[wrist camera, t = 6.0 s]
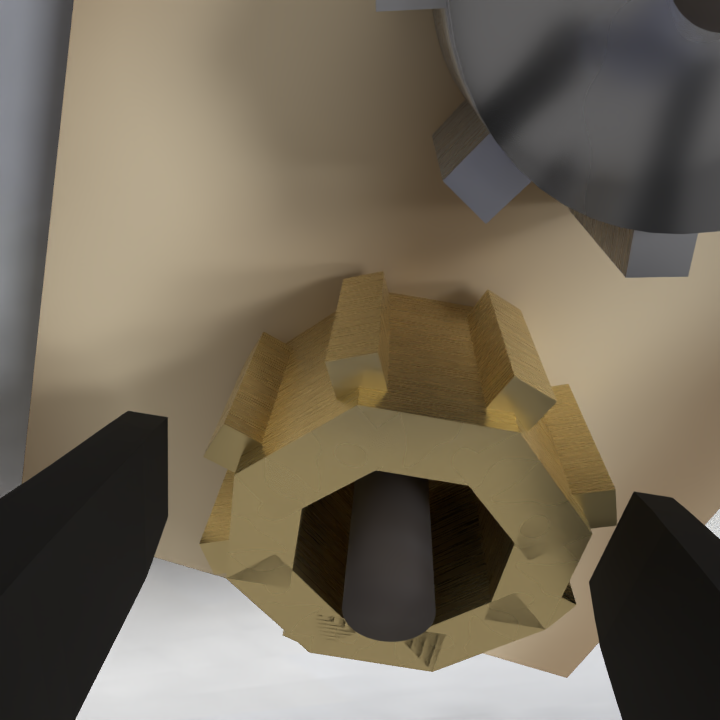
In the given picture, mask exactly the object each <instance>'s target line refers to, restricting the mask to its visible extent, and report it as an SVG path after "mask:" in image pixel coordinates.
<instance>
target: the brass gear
mask: <svg viewBox="0 0 720 720" xmlns="http://www.w3.org/2000/svg"><path fill="white" fill-rule="evenodd" d="M203 457H204V458H206V459H208V460H210V461H212V462H214V463H216V464H218V465H220V466H222V467H224V468H226V469H227V472H226V475H225V477H224V480H223V483H222V485H221V488H220V490H219V493H218V496H217V498H216V501H215V504H214V506H213V509H212V512H211V514H210V517H209V519H208V522H207V525H206V527H205V530H204V533H203V535H202V538H201V540H200V543H199V545H200V547H201V549H202V551H203V553H204V555H205V557H206V559H207V561H208V563H209V565H210V567H211V569H212V571H213V573H214V575H216V574H224V573H226V579H227V580H229V581H230V582H231V583H232V584H233V585H234V586H235V587H236V588H238V589H239V590H240V591H241V592H242V593H243V594H244V595H245V596H247V597H248V598H249V599H250V600H251V601H252V602H253V603H254V604H256V605H257V606H258V607H259V608H260V609H261V610H262V611H263V612H265V613H266V614H267V615H268V616H269V617H270V618H271V619H272V620H273V621H275V622H276V623H277V624H278V625H279V626H280V627H281V628H282V629H284V631H283V636H285V637H288V638H290V639H292V640H294V641H297V642H298V643H299V644H300V645H302V646H303V647H304V648H305V649H306V650H307V651H308V652H310V653H316V654H322V655H329V656H335V657H341V658H348V659H354V660H361V661H367V662H373V663H380V664H386V665H392V666H399V667H405V668H411V669H418V670H424V671H431V672H433V671H436V670H439V669H441V668H444V667H447V666H449V665H452V664H455V663H457V662H460V661H463V660H465V659H468V658H471V657H473V656H476V655H479V654H481V653H484V652H487V651H489V650H492V649H495V648H498V647H500V646H503V645H506V644H508V643H511V642H514V641H516V640H519V639H522V638H524V637H527V636H530V635H532V634H535V633H538V632H540V631H543V630H546V628H549V627H550V626H551V625H552V624H554V623H555V622H556V621H557V620H559V619H560V618H561V617H562V616H564V615H565V614H566V613H567V612H569V611H570V610H571V609H572V608H574V607H575V606H576V601H575V598H574V595H573V591H572V588H571V584H570V579H571V577H572V575H573V573H574V571H575V569H576V567H577V565H578V563H579V561H580V558H581V556H582V554H583V552H584V550H585V548H586V546H587V544H588V542H589V540H590V538H591V536H592V532H591V529H592V528H600V527H609V526H617V510H616V489H615V487H614V485H613V483H612V480H611V478H610V476H609V474H608V471H607V469H606V467H605V465H604V462H603V460H602V458H601V456H600V453H599V451H598V449H597V447H596V444H595V442H594V440H593V438H592V435H591V433H590V431H589V429H588V426H587V424H586V422H585V420H584V418H583V415H582V413H581V411H580V409H579V406H578V404H577V402H576V400H575V397H574V395H573V393H572V391H571V388H570V386H569V384H564V385H557V386H551V385H550V382H549V380H548V377H547V375H546V372H545V370H544V367H543V365H542V362H541V360H540V357H539V355H538V352H537V350H536V347H535V345H534V342H533V340H532V337H531V334H530V332H529V329H528V327H527V324H526V322H525V319H524V317H523V314H522V312H521V310H520V309H519V308H517V307H515V306H514V305H512V304H511V303H509V302H507V301H506V300H504V299H503V298H501V297H500V296H498V295H496V294H495V293H493V292H492V291H490V290H488V289H487V291H486V292H485V293H484V294H483V296H482V297H481V298H480V300H479V301H478V302H477V303H476V305H475V306H474V307H472V306H466V305H460V304H454V303H449V302H443V301H437V300H431V299H426V298H420V297H414V296H409V295H403V294H397V293H391V292H388V287H387V283H386V279H385V274H384V271H380V272H375V273H370V274H365V275H360V276H355V277H350V278H345V279H343V283H342V287H341V292H340V296H339V301H338V305H337V310H336V311H335V312H334V313H332V314H330V315H329V316H327V317H326V318H324V319H323V320H321V321H319V322H318V323H316V324H315V325H313V326H312V327H310V328H309V329H307V330H305V331H304V332H302V333H301V334H299V335H298V336H296V337H294V338H293V339H291V340H290V341H288V342H287V343H284V342H282V341H280V340H278V339H276V338H275V337H273V336H271V335H269V334H267V333H266V332H263V333H262V335H261V336H260V338H259V340H258V341H257V343H256V345H255V346H254V348H253V349H252V351H251V353H250V354H249V356H248V358H247V359H246V361H245V364H244V366H243V368H242V370H241V373H240V375H239V377H238V379H237V382H236V384H235V386H234V388H233V391H232V393H231V395H230V397H229V400H228V402H227V404H226V406H225V409H224V411H223V413H222V415H221V418H220V420H219V422H218V424H217V426H216V429H215V431H214V433H213V435H212V438H211V440H210V442H209V444H208V447H207V449H206V451H205V453H204V456H203ZM375 470H377V471H384V472H390V473H396V474H402V475H408V476H414V477H420V478H426V479H428V484H429V502H430V519H431V537H432V555H433V573H434V591H435V609H436V614H435V619H434V621H433V623H432V625H431V626H430V627H429V629H427V630H426V631H425V632H424V633H422V634H421V635H419V636H417V637H415V638H412V639H409V640H405V641H398V642H384V641H378V640H373V639H370V638H367V637H365V636H363V635H361V634H359V633H357V632H356V631H354V630H353V629H352V628H351V627H350V626H349V625H348V624H347V622H346V621H345V619H344V617H343V613H342V603H343V593H344V583H345V573H346V563H347V553H348V543H349V533H350V523H351V513H352V503H353V493H354V483H355V481H356V480H358V479H360V478H362V477H364V476H366V475H367V474H369V473H371V472H373V471H375Z"/></svg>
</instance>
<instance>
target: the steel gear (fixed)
mask: <svg viewBox="0 0 720 720" xmlns="http://www.w3.org/2000/svg"><path fill="white" fill-rule="evenodd" d="M420 9H432V11H433V17H434V23H435V29H436V34H437V38H438V41H439V44H440V48H441V51H442V55H443V58H444V60H445V62H446V64H447V67H448V69H449V71H450V74H451V76H452V78H453V80H454V81H455V83H456V85H457V86H458V88H459V90H460V91H461V93H462V95H463V96H464V98H465V100H464V102H463V103H462V104H461V105H460V106H459V107H458V108H457V109H456V110H455V111H454V112H453V113H452V114H451V115H450V116H449V118H448V119H447V120H446V121H445V122H444V123H443V124H442V125H441V126H440V127H439V128H438V129H437V130H436V131H435V132H434V133H433V135H432V138H433V142H434V146H435V151H436V155H437V159H438V163H439V167H440V172H441V176H442V180H443V182H444V183H445V184H446V185H447V186H448V187H449V188H450V189H451V190H452V191H453V192H454V193H455V194H456V195H457V196H458V197H459V198H460V199H461V200H462V201H463V202H464V203H465V204H466V205H467V206H468V207H469V208H470V209H471V210H472V211H473V212H474V213H475V214H476V215H477V216H478V217H479V218H480V219H481V220H482V221H483V222H484V223H485V224H487V223H488V222H489V221H490V220H491V219H492V218H493V217H494V216H495V215H496V214H497V213H498V212H499V211H500V210H501V209H503V208H504V207H505V206H506V205H507V204H508V203H509V202H510V201H511V200H512V199H513V198H514V197H515V196H516V195H517V194H518V193H520V192H521V191H522V190H523V189H524V188H525V187H526V186H527V185H528V184H529V183H530V182H531V181H532V182H533V183H534V184H535V185H536V186H538V187H539V188H540V189H541V190H543V191H544V192H546V193H547V194H549V195H550V196H552V197H553V198H555V199H556V200H558V201H559V202H560V203H562V204H563V205H565V206H567V207H569V211H570V212H571V213H572V214H573V215H574V217H575V218H576V219H577V220H578V221H579V223H580V224H581V225H582V226H583V227H584V229H585V230H586V231H587V232H588V233H589V234H590V236H591V237H592V238H593V239H594V240H595V242H596V243H597V244H598V245H599V246H600V248H601V249H602V250H603V251H604V252H605V254H606V255H607V256H608V257H609V258H610V260H611V261H612V262H613V263H614V264H615V266H616V267H617V268H618V269H619V270H620V272H621V273H622V274H623V275H624V276H625V278H644V277H688V275H689V271H690V266H691V262H692V258H693V253H694V249H695V245H696V240H697V236H698V233H705V232H717V231H720V33H716V32H711V31H707V30H704V29H701V28H699V27H698V26H696V25H694V24H692V23H691V22H690V21H689V20H687V19H686V18H685V17H684V16H683V15H682V14H681V12H680V11H679V10H678V8H677V7H676V5H675V3H674V1H673V0H376V12H380V11H400V10H420Z"/></svg>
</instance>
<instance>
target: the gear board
mask: <svg viewBox="0 0 720 720" xmlns="http://www.w3.org/2000/svg"><path fill="white" fill-rule="evenodd" d="M673 1H674V3H675V5H676V7H677V8H678V10H679V11H680V12H681V14H682V15H683V16H684V17H685V18H686V19H687V20H689V21H690V22H691V23H692V24H694V25H696V26H698V27H699V28H701V29H704V30H707V31H711V32H716V33H720V0H673ZM464 100H465V98H464V96H463V95H462V93H461V91H460V90H459V88H458V86H457V85H456V83H455V81H454V80H453V78H452V76H451V74H450V71H449V69H448V67H447V64H446V62H445V60H444V58H443V55H442V51H441V48H440V44H439V41H438V38H437V34H436V29H435V23H434V17H433V11H432V9H420V10H400V11H380V12H376V0H74V4H73V13H72V22H71V32H70V41H69V50H68V59H67V69H66V78H65V87H64V96H63V106H62V115H61V124H60V134H59V143H58V152H57V161H56V171H55V180H54V189H53V198H52V208H51V217H50V226H49V235H48V245H47V254H46V263H45V272H44V282H43V291H42V300H41V310H40V319H39V328H38V337H37V347H36V356H35V365H34V374H33V384H32V393H31V402H30V411H29V421H28V430H27V439H26V449H25V458H24V467H23V476H22V484H23V483H24V482H26V481H27V480H29V479H30V478H32V477H33V476H35V475H36V474H37V473H39V472H40V471H42V470H43V469H45V468H46V467H48V466H49V465H51V464H52V463H54V462H55V461H57V460H58V459H59V458H61V457H62V456H64V455H65V454H66V453H68V452H69V451H71V450H72V449H74V448H75V447H76V446H78V445H79V444H81V443H82V442H84V441H85V440H86V439H88V438H89V437H91V436H92V435H93V434H95V433H96V432H98V431H99V430H100V429H102V428H103V427H105V426H106V425H108V424H109V423H111V422H112V421H113V420H115V419H116V418H118V417H119V416H121V415H122V414H124V413H125V412H127V411H133V412H139V413H145V414H151V415H158V416H164V417H168V519H167V522H166V524H165V527H164V530H163V533H162V536H161V539H160V541H159V544H158V547H157V550H156V553H155V555H154V557H156V558H159V559H163V560H166V561H169V562H173V563H176V564H180V565H183V566H186V567H190V568H193V569H197V570H200V571H204V572H207V573H210V574H214V573H213V571H212V569H211V567H210V565H209V563H208V561H207V559H206V557H205V555H204V553H203V551H202V549H201V547H200V545H199V543H200V540H201V538H202V535H203V533H204V530H205V527H206V525H207V522H208V519H209V517H210V514H211V512H212V509H213V506H214V504H215V501H216V498H217V496H218V493H219V490H220V488H221V485H222V483H223V480H224V477H225V475H226V472H227V469H226V468H224V467H222V466H220V465H218V464H216V463H214V462H212V461H210V460H208V459H206V458H204V457H203V456H204V453H205V451H206V449H207V447H208V444H209V442H210V440H211V438H212V435H213V433H214V431H215V429H216V426H217V424H218V422H219V420H220V418H221V415H222V413H223V411H224V409H225V406H226V404H227V402H228V400H229V397H230V395H231V393H232V391H233V388H234V386H235V384H236V382H237V379H238V377H239V375H240V373H241V370H242V368H243V366H244V364H245V361H246V359H247V358H248V356H249V354H250V353H251V351H252V349H253V348H254V346H255V345H256V343H257V341H258V340H259V338H260V336H261V335H262V333H263V332H266V333H267V334H269V335H271V336H273V337H275V338H276V339H278V340H280V341H282V342H284V343H287V342H288V341H290V340H291V339H293V338H294V337H296V336H298V335H299V334H301V333H302V332H304V331H305V330H307V329H309V328H310V327H312V326H313V325H315V324H316V323H318V322H319V321H321V320H323V319H324V318H326V317H327V316H329V315H330V314H332V313H334V312H335V311H336V310H337V305H338V301H339V296H340V292H341V287H342V283H343V279H345V278H350V277H355V276H360V275H365V274H370V273H375V272H380V271H384V274H385V279H386V283H387V287H388V292H391V293H397V294H403V295H409V296H414V297H420V298H426V299H431V300H437V301H443V302H449V303H454V304H460V305H466V306H472V307H474V306H475V305H476V303H477V302H478V301H479V300H480V298H481V297H482V296H483V294H484V293H485V292H486V291H487V289H488V290H490V291H492V292H493V293H495V294H496V295H498V296H500V297H501V298H503V299H504V300H506V301H507V302H509V303H511V304H512V305H514V306H515V307H517V308H519V309H520V310H521V312H522V314H523V317H524V319H525V322H526V324H527V327H528V329H529V332H530V334H531V337H532V340H533V342H534V345H535V347H536V350H537V352H538V355H539V357H540V360H541V362H542V365H543V367H544V370H545V372H546V375H547V377H548V380H549V382H550V385H551V386H557V385H564V384H569V386H570V388H571V391H572V393H573V395H574V397H575V400H576V402H577V404H578V406H579V409H580V411H581V413H582V415H583V418H584V420H585V422H586V424H587V426H588V429H589V431H590V433H591V435H592V438H593V440H594V442H595V444H596V447H597V449H598V451H599V453H600V456H601V458H602V460H603V462H604V465H605V467H606V469H607V471H608V474H609V476H610V478H611V480H612V483H613V485H614V487H615V489H616V510H617V524H618V522H619V520H620V518H621V516H622V514H623V512H624V510H625V508H626V506H627V504H628V502H629V500H630V498H631V496H632V494H633V492H634V491H635V492H641V493H647V494H654V495H660V496H666V497H672V498H674V499H675V500H676V501H677V502H679V503H680V504H681V505H682V506H683V507H685V508H686V509H687V510H688V511H689V512H690V513H692V514H693V515H694V516H695V517H696V518H697V519H698V520H699V521H700V522H702V523H703V524H704V525H705V524H706V523H707V522H708V521H709V520H710V518H711V517H712V516H713V515H714V514H715V513H716V512H717V511H718V510H719V509H720V231H717V232H705V233H698V236H697V240H696V245H695V249H694V253H693V258H692V262H691V266H690V271H689V275H688V277H644V278H625V276H624V275H623V274H622V273H621V272H620V270H619V269H618V268H617V267H616V266H615V264H614V263H613V262H612V261H611V260H610V258H609V257H608V256H607V255H606V254H605V252H604V251H603V250H602V249H601V248H600V246H599V245H598V244H597V243H596V242H595V240H594V239H593V238H592V237H591V236H590V234H589V233H588V232H587V231H586V230H585V229H584V227H583V226H582V225H581V224H580V223H579V221H578V220H577V219H576V218H575V217H574V215H573V214H572V213H571V212H570V211H569V207H567V206H565V205H563V204H562V203H560V202H559V201H558V200H556V199H555V198H553V197H552V196H550V195H549V194H547V193H546V192H544V191H543V190H541V189H540V188H539V187H538V186H536V185H535V184H534V183H533V182H532V181H531V182H530V183H529V184H528V185H527V186H526V187H525V188H524V189H523V190H522V191H521V192H520V193H518V194H517V195H516V196H515V197H514V198H513V199H512V200H511V201H510V202H509V203H508V204H507V205H506V206H505V207H504V208H503V209H501V210H500V211H499V212H498V213H497V214H496V215H495V216H494V217H493V218H492V219H491V220H490V221H489V222H488V223H487V224H485V223H484V222H483V221H482V220H481V219H480V218H479V217H478V216H477V215H476V214H475V213H474V212H473V211H472V210H471V209H470V208H469V207H468V206H467V205H466V204H465V203H464V202H463V201H462V200H461V199H460V198H459V197H458V196H457V195H456V194H455V193H454V192H453V191H452V190H451V189H450V188H449V187H448V186H447V185H446V184H445V183H444V182H443V180H442V176H441V172H440V167H439V163H438V159H437V155H436V151H435V146H434V142H433V138H432V135H433V133H434V132H435V131H436V130H437V129H438V128H439V127H440V126H441V125H442V124H443V123H444V122H445V121H446V120H447V119H448V118H449V116H450V115H451V114H452V113H453V112H454V111H455V110H456V109H457V108H458V107H459V106H460V105H461V104H462V103H463V102H464ZM615 528H616V526H609V527H600V528H592V529H591V532H592V536H591V538H590V540H589V542H588V544H587V546H586V548H585V550H584V552H583V554H582V556H581V558H580V561H579V563H578V565H577V567H576V569H575V571H574V573H573V575H572V577H571V579H570V584H571V588H572V591H573V595H574V598H575V601H576V606H575V607H574V608H572V609H571V610H570V611H569V612H567V613H566V614H565V615H564V616H562V617H561V618H560V619H559V620H557V621H556V622H555V623H554V624H552V625H551V626H550V627H549V628H546V630H543V631H540V632H538V633H535V634H532V635H530V636H527V637H524V638H522V639H519V640H516V641H514V642H511V643H508V644H506V645H503V646H500V647H498V648H495V649H492V650H489V651H487V652H484V654H487V655H491V656H494V657H498V658H501V659H504V660H508V661H511V662H515V663H518V664H521V665H525V666H528V667H532V668H535V669H539V670H542V671H545V672H549V673H552V674H556V675H559V676H563V677H566V678H567V677H568V676H569V675H570V674H571V673H572V672H573V671H574V670H575V668H576V667H577V666H578V665H579V664H580V663H581V662H582V661H583V660H584V658H585V657H586V656H587V655H588V654H589V653H590V652H591V651H592V650H593V648H594V647H595V646H596V645H597V644H598V643H599V638H598V633H597V628H596V623H595V618H594V611H593V605H592V599H591V593H590V586H589V581H590V579H591V576H592V574H593V572H594V570H595V568H596V566H597V564H598V562H599V560H600V558H601V556H602V554H603V552H604V550H605V548H606V546H607V544H608V542H609V540H610V538H611V536H612V534H613V532H614V530H615ZM216 575H217V576H221V577H224V578H226V573H224V574H216ZM342 613H343V617H344V619H345V621H346V622H347V624H348V625H349V626H350V627H351V628H352V629H353V630H354V631H356V632H357V633H359V634H361V635H363V636H365V637H367V638H370V639H373V640H378V641H384V642H398V641H405V640H409V639H412V638H415V637H417V636H419V635H421V634H422V633H424V632H425V631H426V630H427V629H429V627H430V626H431V625H432V623H433V621H434V619H435V614H436V609H435V591H434V573H433V555H432V537H431V519H430V502H429V484H428V479H426V478H420V477H414V476H408V475H402V474H396V473H390V472H384V471H377V470H375V471H373V472H371V473H369V474H367V475H366V476H364V477H362V478H360V479H358V480H356V481H355V483H354V493H353V503H352V513H351V523H350V533H349V543H348V553H347V563H346V573H345V583H344V593H343V603H342Z"/></svg>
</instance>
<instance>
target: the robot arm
mask: <svg viewBox="0 0 720 720" xmlns="http://www.w3.org/2000/svg"><path fill="white" fill-rule="evenodd" d="M167 519H168V417H164V416H158V415H151V414H145V413H139V412H133V411H127V412H125V413H124V414H122V415H121V416H119V417H118V418H116V419H115V420H113V421H112V422H111V423H109V424H108V425H106V426H105V427H103V428H102V429H100V430H99V431H98V432H96V433H95V434H93V435H92V436H91V437H89V438H88V439H86V440H85V441H84V442H82V443H81V444H79V445H78V446H76V447H75V448H74V449H72V450H71V451H69V452H68V453H66V454H65V455H64V456H62V457H61V458H59V459H58V460H57V461H55V462H54V463H52V464H51V465H49V466H48V467H46V468H45V469H43V470H42V471H40V472H39V473H37V474H36V475H35V476H33V477H32V478H30V479H29V480H27V481H26V482H24V483H23V484H21V485H20V486H18V487H17V488H15V489H14V490H12V491H11V492H9V493H8V494H6V495H5V496H3V497H2V498H0V720H75V719H76V717H77V715H78V713H79V711H80V709H81V707H82V705H83V703H84V701H85V699H86V697H87V695H88V693H89V691H90V689H91V687H92V685H93V683H94V681H95V679H96V677H97V675H98V673H99V671H100V669H101V667H102V665H103V663H104V661H105V659H106V657H107V655H108V653H109V651H110V649H111V647H112V645H113V643H114V641H115V639H116V637H117V635H118V633H119V631H120V629H121V627H122V625H123V623H124V621H125V619H126V617H127V615H128V613H129V611H130V609H131V607H132V605H133V603H134V601H135V599H136V597H137V595H138V593H139V591H140V589H141V587H142V585H143V583H144V581H145V579H146V577H147V574H148V571H149V569H150V566H151V563H152V561H153V558H154V555H155V553H156V550H157V547H158V544H159V541H160V539H161V536H162V533H163V530H164V527H165V524H166V522H167ZM589 586H590V593H591V599H592V605H593V611H594V618H595V623H596V628H597V633H598V638H599V643H600V648H601V651H602V655H603V658H604V662H605V665H606V668H607V671H608V675H609V678H610V681H611V685H612V688H613V691H614V694H615V698H616V701H617V704H618V707H619V710H620V713H621V717H622V720H720V539H719V538H718V537H717V536H716V535H714V534H713V533H712V532H711V531H710V530H709V529H708V528H707V527H706V526H705V525H704V524H703V523H702V522H700V521H699V520H698V519H697V518H696V517H695V516H694V515H693V514H692V513H690V512H689V511H688V510H687V509H686V508H685V507H683V506H682V505H681V504H680V503H679V502H677V501H676V500H675V499H674V498H672V497H666V496H660V495H654V494H647V493H641V492H635V491H634V492H633V494H632V496H631V498H630V500H629V502H628V504H627V506H626V508H625V510H624V512H623V514H622V516H621V518H620V520H619V522H618V524H617V526H616V528H615V530H614V532H613V534H612V536H611V538H610V540H609V542H608V544H607V546H606V548H605V550H604V552H603V554H602V556H601V558H600V560H599V562H598V564H597V566H596V568H595V570H594V572H593V574H592V576H591V579H590V581H589Z"/></svg>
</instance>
